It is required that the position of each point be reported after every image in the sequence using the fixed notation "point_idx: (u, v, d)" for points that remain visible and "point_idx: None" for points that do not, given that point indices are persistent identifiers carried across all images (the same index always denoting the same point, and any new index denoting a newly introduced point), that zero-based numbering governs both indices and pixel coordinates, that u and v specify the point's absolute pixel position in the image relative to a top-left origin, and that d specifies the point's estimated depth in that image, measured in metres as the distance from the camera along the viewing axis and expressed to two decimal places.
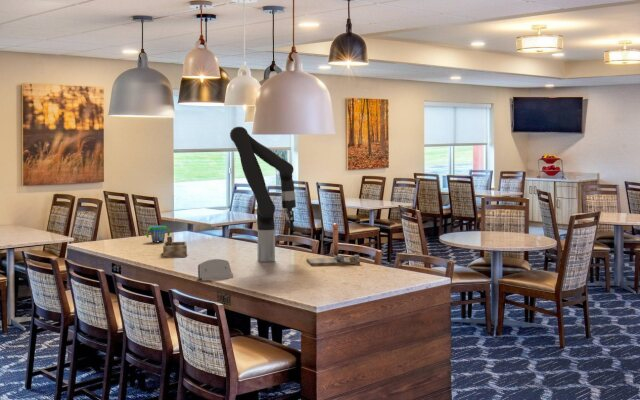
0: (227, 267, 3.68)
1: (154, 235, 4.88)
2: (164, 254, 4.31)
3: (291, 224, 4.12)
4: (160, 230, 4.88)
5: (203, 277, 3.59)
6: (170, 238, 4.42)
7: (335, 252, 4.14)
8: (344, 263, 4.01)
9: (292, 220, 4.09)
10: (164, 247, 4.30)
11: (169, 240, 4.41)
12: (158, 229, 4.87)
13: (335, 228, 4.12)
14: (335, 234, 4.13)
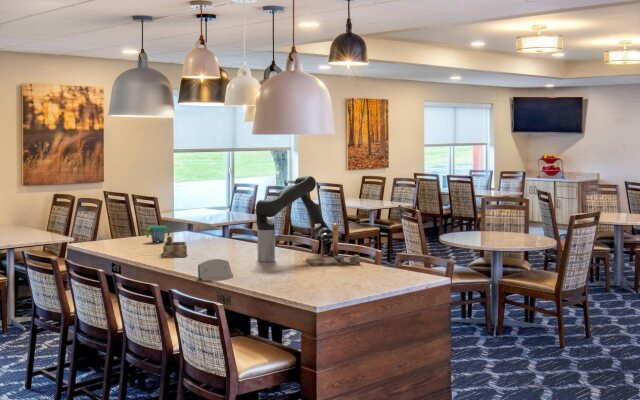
0: (227, 267, 3.68)
1: (154, 235, 4.88)
2: (164, 254, 4.31)
3: None
4: (160, 230, 4.88)
5: (203, 277, 3.59)
6: (170, 238, 4.41)
7: (335, 252, 4.14)
8: (344, 263, 4.01)
9: (341, 237, 4.33)
10: (164, 247, 4.30)
11: (169, 240, 4.41)
12: (158, 229, 4.87)
13: (335, 228, 4.12)
14: (335, 234, 4.13)
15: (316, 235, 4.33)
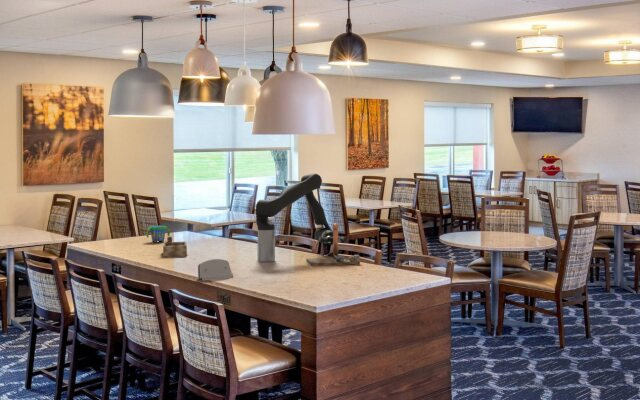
0: (227, 267, 3.68)
1: (154, 235, 4.88)
2: (164, 254, 4.31)
3: None
4: (160, 230, 4.88)
5: (203, 277, 3.59)
6: (170, 238, 4.41)
7: (335, 252, 4.14)
8: (344, 263, 4.01)
9: (345, 240, 4.22)
10: (164, 247, 4.30)
11: (169, 240, 4.41)
12: (158, 229, 4.87)
13: (335, 228, 4.12)
14: (335, 234, 4.13)
15: (319, 238, 4.23)
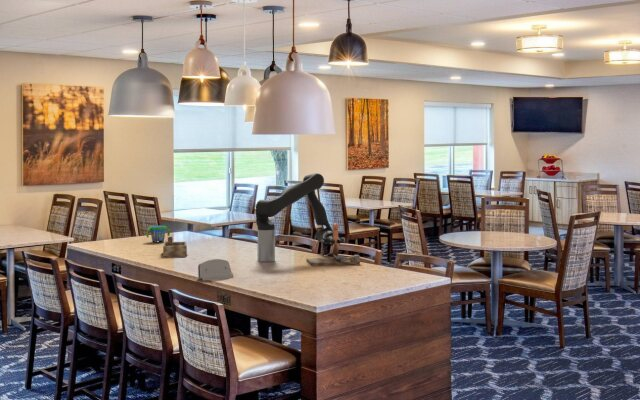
0: (227, 267, 3.68)
1: (154, 235, 4.88)
2: (164, 254, 4.31)
3: None
4: (160, 230, 4.88)
5: (203, 277, 3.59)
6: (171, 238, 4.41)
7: (335, 252, 4.14)
8: (344, 263, 4.01)
9: (342, 241, 4.18)
10: (164, 247, 4.30)
11: (170, 240, 4.41)
12: (158, 229, 4.87)
13: (335, 228, 4.12)
14: (335, 234, 4.13)
15: (323, 239, 4.18)
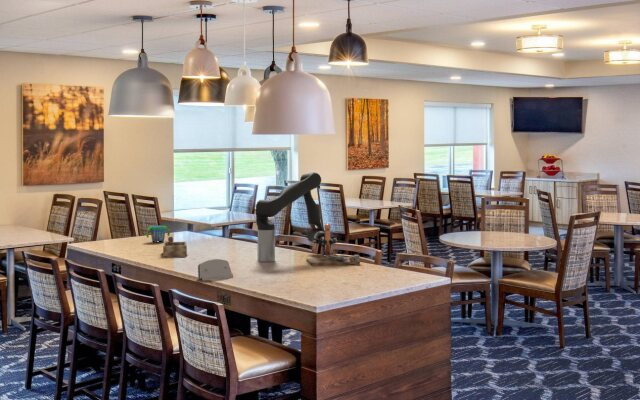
0: (227, 267, 3.68)
1: (154, 235, 4.88)
2: (164, 254, 4.31)
3: None
4: (160, 230, 4.88)
5: (203, 277, 3.59)
6: (171, 238, 4.41)
7: (328, 252, 4.12)
8: (344, 263, 4.01)
9: (334, 241, 4.16)
10: (164, 247, 4.30)
11: (170, 240, 4.40)
12: (158, 229, 4.87)
13: (328, 228, 4.11)
14: (328, 234, 4.11)
15: (315, 239, 4.16)
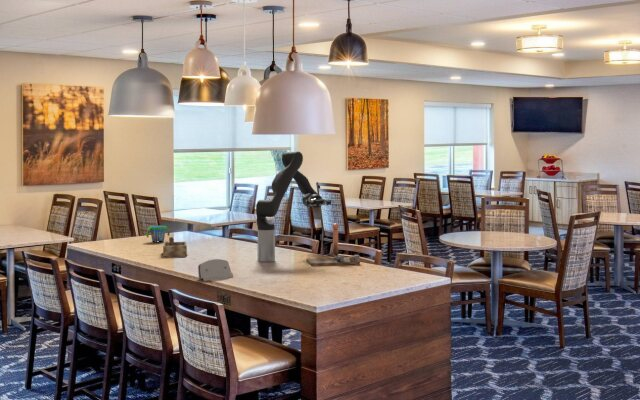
0: (227, 267, 3.68)
1: (154, 235, 4.88)
2: (164, 254, 4.31)
3: None
4: (160, 230, 4.88)
5: (204, 277, 3.59)
6: (172, 239, 4.39)
7: (335, 252, 4.14)
8: (344, 263, 4.01)
9: None
10: (164, 247, 4.30)
11: (171, 241, 4.38)
12: (158, 229, 4.87)
13: (335, 228, 4.12)
14: (335, 234, 4.13)
15: (306, 200, 4.36)
